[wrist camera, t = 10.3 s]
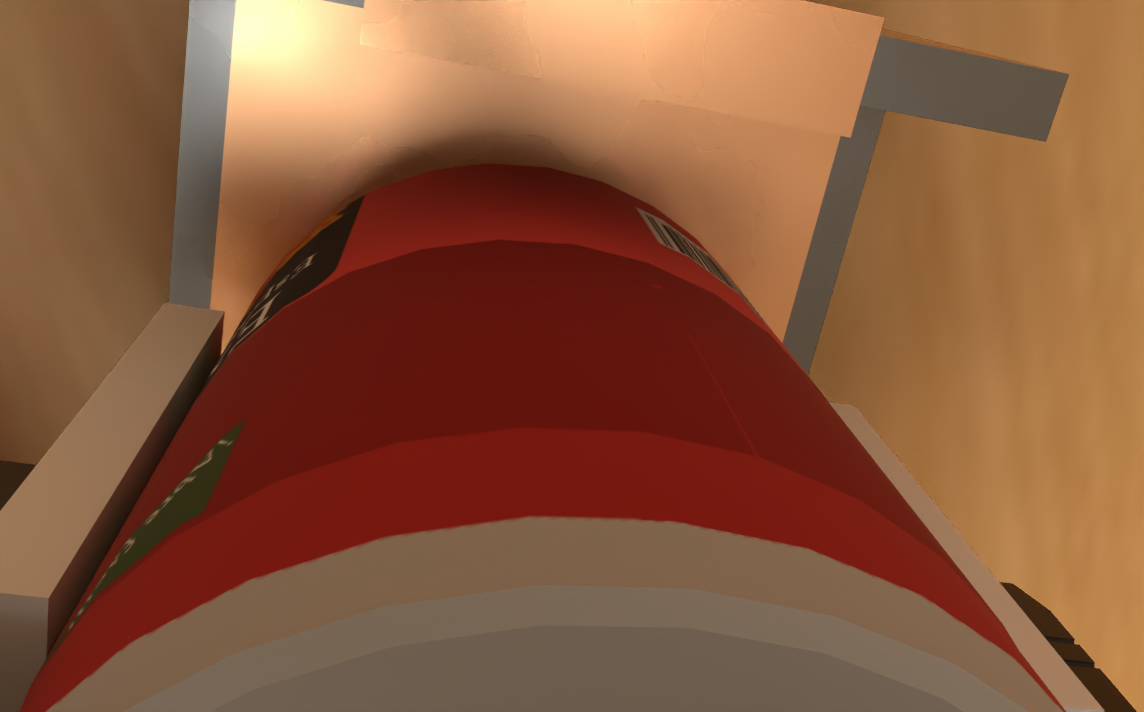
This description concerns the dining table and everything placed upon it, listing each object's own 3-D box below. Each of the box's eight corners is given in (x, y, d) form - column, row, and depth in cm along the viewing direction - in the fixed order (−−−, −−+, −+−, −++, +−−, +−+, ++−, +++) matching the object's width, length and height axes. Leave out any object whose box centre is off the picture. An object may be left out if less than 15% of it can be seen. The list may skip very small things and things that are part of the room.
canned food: (235, 127, 15) (-248, 552, 5) (797, 171, 16) (1392, 608, 6) (241, 601, 18) (-59, 1517, 8) (721, 614, 19) (1032, 1441, 8)
